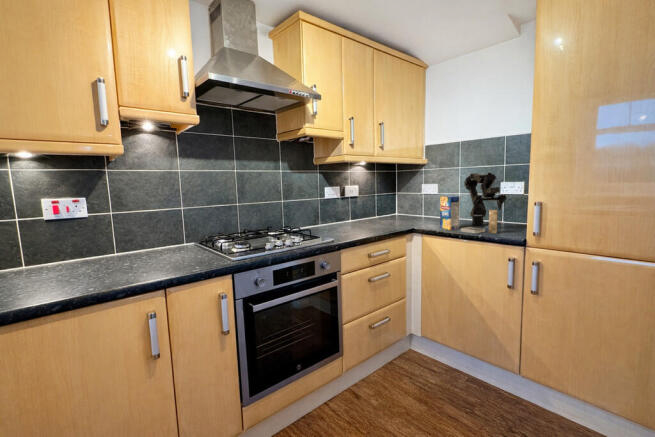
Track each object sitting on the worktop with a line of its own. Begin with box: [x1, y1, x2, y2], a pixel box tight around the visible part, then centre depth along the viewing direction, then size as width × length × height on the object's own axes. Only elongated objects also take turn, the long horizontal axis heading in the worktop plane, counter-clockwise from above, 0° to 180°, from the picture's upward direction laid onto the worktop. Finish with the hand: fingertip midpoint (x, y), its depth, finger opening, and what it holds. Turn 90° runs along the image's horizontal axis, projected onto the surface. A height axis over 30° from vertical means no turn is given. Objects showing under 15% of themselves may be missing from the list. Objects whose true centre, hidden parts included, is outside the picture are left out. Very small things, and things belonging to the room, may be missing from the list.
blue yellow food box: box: [439, 195, 461, 231], centre depth 206 cm, size 7×11×22 cm, turn 16°
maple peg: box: [488, 209, 499, 234], centre depth 186 cm, size 4×4×14 cm
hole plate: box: [460, 226, 486, 234], centre depth 193 cm, size 10×10×2 cm
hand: (492, 210), depth 191 cm, fingers open, 9 cm apart
